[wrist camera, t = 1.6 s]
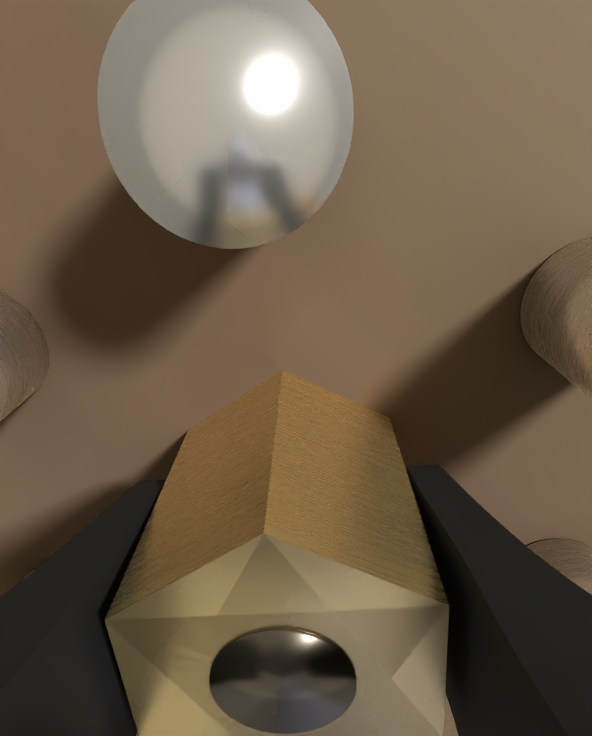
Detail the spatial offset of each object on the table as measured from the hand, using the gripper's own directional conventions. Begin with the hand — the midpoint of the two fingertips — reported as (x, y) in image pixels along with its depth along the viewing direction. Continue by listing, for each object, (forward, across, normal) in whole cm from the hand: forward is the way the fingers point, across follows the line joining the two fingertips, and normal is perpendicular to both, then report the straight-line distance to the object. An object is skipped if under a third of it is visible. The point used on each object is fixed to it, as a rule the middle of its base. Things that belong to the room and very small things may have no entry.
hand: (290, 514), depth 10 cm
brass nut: (+2, 0, 0) cm, 2 cm away
